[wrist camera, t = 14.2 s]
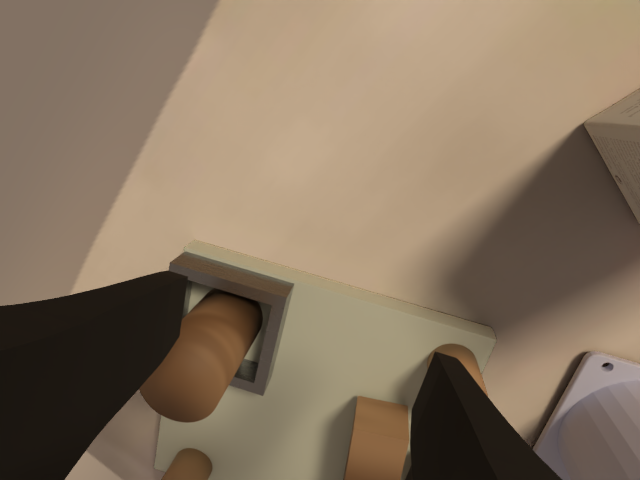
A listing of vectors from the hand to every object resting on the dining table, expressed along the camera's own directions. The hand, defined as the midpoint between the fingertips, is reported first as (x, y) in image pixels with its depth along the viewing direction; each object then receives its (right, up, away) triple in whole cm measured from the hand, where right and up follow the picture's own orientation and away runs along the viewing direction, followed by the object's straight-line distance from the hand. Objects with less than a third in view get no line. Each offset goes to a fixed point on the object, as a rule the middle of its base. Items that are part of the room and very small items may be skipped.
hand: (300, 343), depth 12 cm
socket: (-4, -1, +10) cm, 11 cm away
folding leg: (+3, -10, +12) cm, 16 cm away
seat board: (0, -6, +13) cm, 14 cm away
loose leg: (-4, -1, +10) cm, 11 cm away
